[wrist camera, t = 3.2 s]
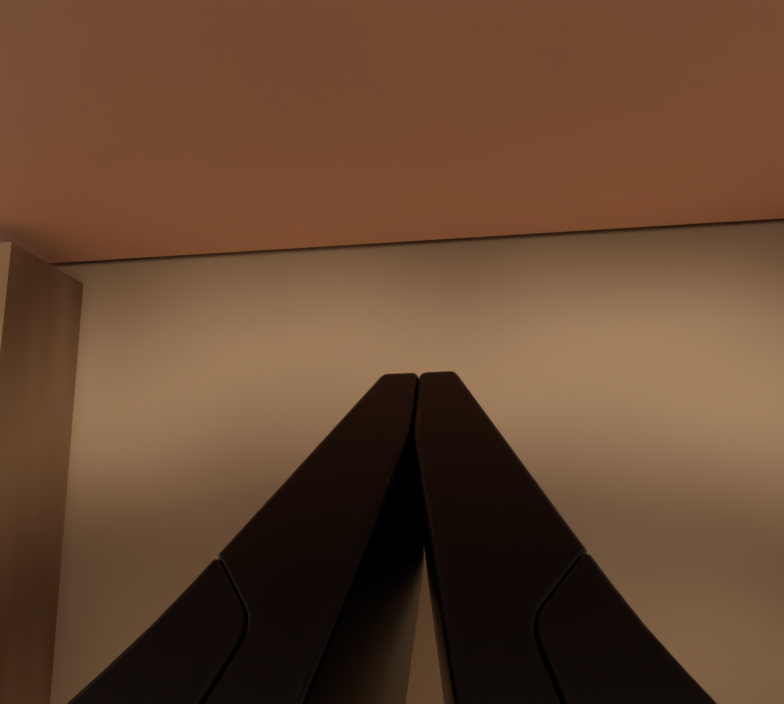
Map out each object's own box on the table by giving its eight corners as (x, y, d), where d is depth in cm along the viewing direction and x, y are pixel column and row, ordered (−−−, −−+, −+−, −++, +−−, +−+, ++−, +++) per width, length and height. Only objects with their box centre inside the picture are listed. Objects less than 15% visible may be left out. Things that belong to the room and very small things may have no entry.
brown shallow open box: (961, 1007, 13) (1340, 1394, 7) (41, 961, 15) (-229, 1237, 9) (828, 200, 17) (1014, 33, 11) (96, 246, 19) (-76, 125, 13)
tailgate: (909, 210, 14) (1659, -316, 5) (25, 264, 16) (-543, -47, 7) (892, 120, 14) (1556, -511, 5) (33, 184, 16) (-493, -205, 7)
